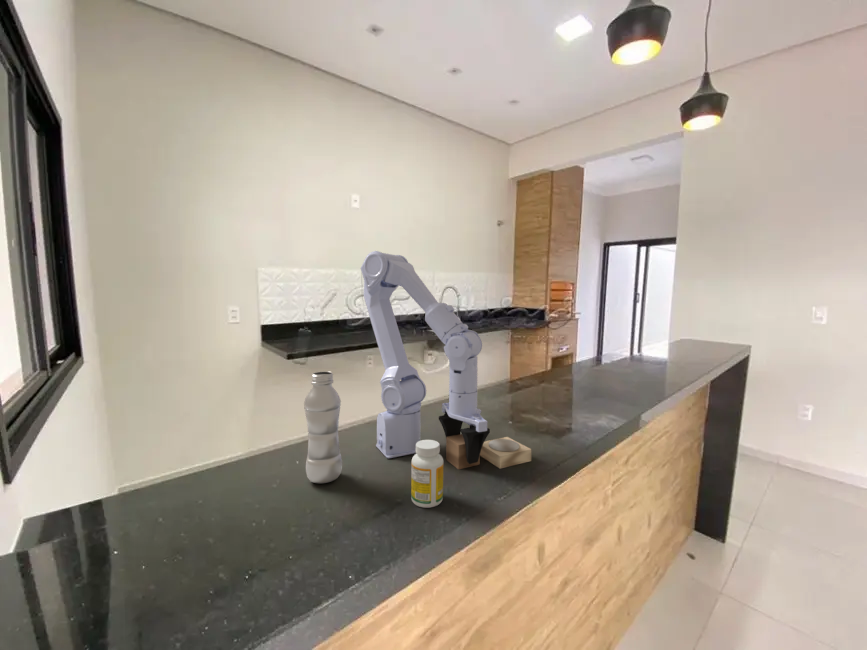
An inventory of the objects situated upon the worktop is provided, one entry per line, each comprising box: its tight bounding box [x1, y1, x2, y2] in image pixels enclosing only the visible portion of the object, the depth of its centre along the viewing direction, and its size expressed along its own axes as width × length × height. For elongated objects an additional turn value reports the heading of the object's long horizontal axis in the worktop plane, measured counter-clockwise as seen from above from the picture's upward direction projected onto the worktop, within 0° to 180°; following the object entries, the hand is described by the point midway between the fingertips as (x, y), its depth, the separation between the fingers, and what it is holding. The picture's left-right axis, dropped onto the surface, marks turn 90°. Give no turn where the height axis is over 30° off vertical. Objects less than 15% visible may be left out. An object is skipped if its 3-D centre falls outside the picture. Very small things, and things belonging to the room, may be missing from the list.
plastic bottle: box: [303, 370, 343, 484], centre depth 70 cm, size 6×7×20 cm
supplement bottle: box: [410, 439, 444, 509], centre depth 63 cm, size 5×5×10 cm
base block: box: [480, 436, 532, 469], centre depth 80 cm, size 8×8×3 cm
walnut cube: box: [445, 433, 481, 470], centre depth 78 cm, size 5×5×5 cm
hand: (462, 455), depth 78 cm, fingers open, 7 cm apart
